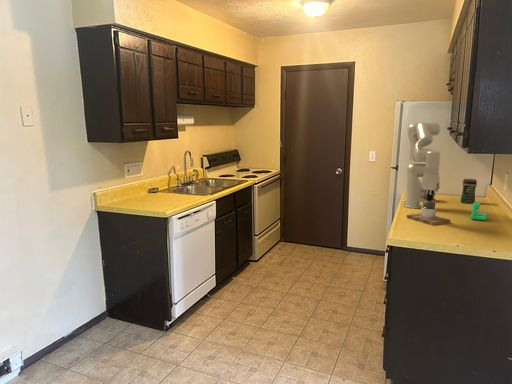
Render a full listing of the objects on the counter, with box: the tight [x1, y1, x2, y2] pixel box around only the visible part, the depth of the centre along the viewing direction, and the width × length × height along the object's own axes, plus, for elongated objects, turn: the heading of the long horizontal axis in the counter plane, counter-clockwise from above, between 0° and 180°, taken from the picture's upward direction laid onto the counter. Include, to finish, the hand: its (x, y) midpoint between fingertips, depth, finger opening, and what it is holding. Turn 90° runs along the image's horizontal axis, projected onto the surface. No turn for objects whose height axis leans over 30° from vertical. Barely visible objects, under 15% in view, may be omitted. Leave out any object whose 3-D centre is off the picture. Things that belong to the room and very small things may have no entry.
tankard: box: [420, 182, 437, 202], centre depth 291 cm, size 20×13×15 cm, turn 68°
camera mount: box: [470, 202, 488, 221], centre depth 232 cm, size 12×8×10 cm, turn 142°
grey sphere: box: [422, 200, 436, 209], centre depth 228 cm, size 7×7×7 cm
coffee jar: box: [460, 178, 478, 205], centre depth 281 cm, size 10×8×19 cm
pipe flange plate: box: [406, 206, 452, 226], centre depth 229 cm, size 20×15×8 cm
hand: (429, 200), depth 228 cm, fingers closed
